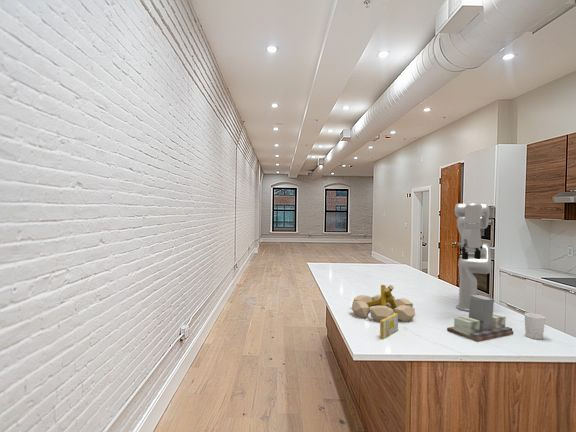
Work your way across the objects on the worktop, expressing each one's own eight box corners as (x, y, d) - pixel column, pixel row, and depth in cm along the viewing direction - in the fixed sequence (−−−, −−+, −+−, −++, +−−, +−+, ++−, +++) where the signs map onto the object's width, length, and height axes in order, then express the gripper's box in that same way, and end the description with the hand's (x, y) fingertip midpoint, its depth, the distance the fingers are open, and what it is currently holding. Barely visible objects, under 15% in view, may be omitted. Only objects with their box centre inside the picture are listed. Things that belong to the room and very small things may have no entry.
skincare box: (467, 327, 175) (468, 295, 175) (477, 325, 178) (478, 294, 178) (483, 332, 167) (484, 299, 167) (493, 331, 170) (494, 298, 170)
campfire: (419, 326, 180) (420, 293, 180) (350, 321, 187) (351, 288, 187) (409, 308, 214) (410, 280, 214) (352, 304, 221) (353, 276, 221)
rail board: (482, 324, 185) (482, 310, 185) (513, 334, 171) (513, 318, 171) (447, 330, 174) (447, 315, 174) (477, 341, 159) (477, 325, 159)
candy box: (394, 329, 174) (394, 312, 174) (398, 330, 173) (398, 313, 172) (379, 338, 161) (379, 320, 161) (384, 339, 160) (384, 321, 160)
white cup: (535, 340, 163) (536, 318, 163) (520, 334, 171) (520, 313, 171) (548, 339, 165) (549, 317, 165) (532, 333, 173) (533, 312, 173)
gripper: (476, 226, 196) (475, 257, 196) (454, 226, 189) (453, 258, 189) (489, 227, 190) (488, 259, 190) (467, 227, 182) (466, 260, 182)
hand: (471, 259), depth 189 cm, fingers open, 9 cm apart
